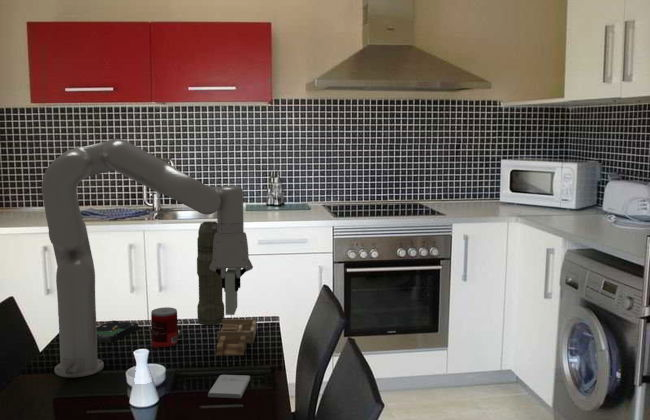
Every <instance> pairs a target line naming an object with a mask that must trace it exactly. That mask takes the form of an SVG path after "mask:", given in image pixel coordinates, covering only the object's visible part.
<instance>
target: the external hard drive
mask: <svg viewBox="0 0 650 420" xmlns="http://www.w3.org/2000/svg"><path fill="white" fill-rule="evenodd" d="M250 381H251V375H243V374H242V375H239V374H220V375H219V376H218V377H217V379H216V381H215V382H214V383H213V386H212V387H211V388H210V390H209V391H208V393H207V397H208V398H220V399H221V398H222V399H223V398H224V399H225V398H226V399H242V397H243V395H244V393H245V391H246V389H247V387H248V384H249V382H250Z"/></svg>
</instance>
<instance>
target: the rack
mask: <svg viewBox="0 0 650 420" xmlns="http://www.w3.org/2000/svg"><path fill="white" fill-rule="evenodd" d="M221 324H222V325H221V326H223V324H236V325H238V330H237V331H222V329H221V330H217V331H216V343H217V344H218V342H219V339H220V337H221V336H226V344H238V343H239V340H240V337H241V336H246V344H254V343H255V338H256V334H257V327H258V326H257V318H224V319H222V323H221ZM217 344H216V345H217Z"/></svg>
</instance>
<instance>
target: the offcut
mask: <svg viewBox="0 0 650 420" xmlns="http://www.w3.org/2000/svg"><path fill="white" fill-rule="evenodd" d="M221 326H222V325H221ZM221 330H222V331H236V324H223V326H222V327H221Z"/></svg>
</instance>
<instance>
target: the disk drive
mask: <svg viewBox="0 0 650 420" xmlns="http://www.w3.org/2000/svg"><path fill="white" fill-rule="evenodd" d="M96 329H97V343H98V342H99V343H106V344H107V343H108V344H111V343H114V342H116V341H118V340H121V339H122V338H124V337H126V336H129V335H130V334H133V333H134V332H136V331H139V323H138V322H137V323H136V322H128V321H122V322H119V320H111V321H108V322H106V323H103V324H101V325H99V326H96Z"/></svg>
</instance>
